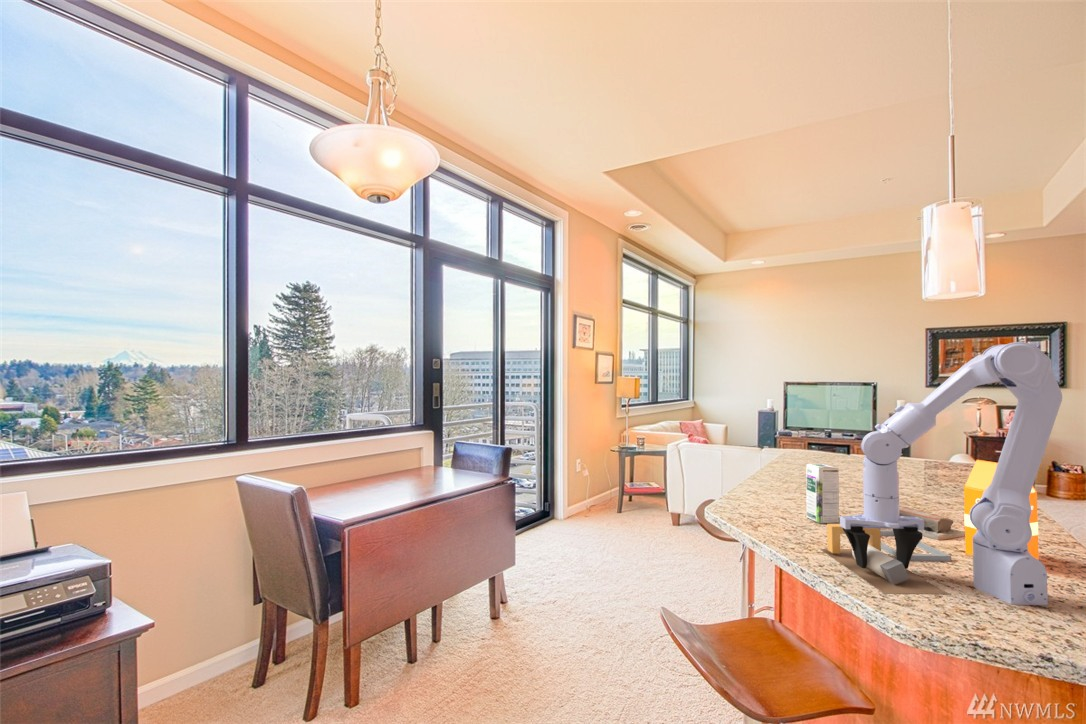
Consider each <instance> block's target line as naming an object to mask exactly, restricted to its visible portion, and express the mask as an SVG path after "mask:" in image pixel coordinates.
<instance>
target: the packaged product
mask: <svg viewBox="0 0 1086 724" xmlns="http://www.w3.org/2000/svg"><path fill="white" fill-rule="evenodd" d="M899 516H906V517H918V518H920V519H923V520H924V530H918V531H919V532H921V533H922V537H924V538H928V539H932V540H935V541H943V540H949V539H955V538H960V537H962V538H963V537H965V531H962V530H958V529H954V528H952V526H953V524H954V520H953V519H951V518H948V517H945V516H941V515H939V514H934V513H930V512H926V511H924V510H923V511H922V510H920V509H919V510H918V509H914V508H910V507H908V506H903V505H900V504H899Z"/></svg>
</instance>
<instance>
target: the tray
mask: <svg viewBox="0 0 1086 724" xmlns="http://www.w3.org/2000/svg"><path fill="white" fill-rule="evenodd" d="M883 536H884V537H887V536H888V537H895V536H894V532H893V529H890V530H889V529H888V530H887V529H886V530H885V529H881V537H883ZM916 548H919V549H921V550H924V551H926V552H928V553H929V554H928V553H927V554H926V553H924V554H923V553H922V554H921V553H913V554H912V556H911V559H910V562H952V555H950V554H949V553H946V552H944V551H942V550H940V549H938V548H935V547H933V546H931V545H929V544H927V543H925V542H923V541H922V540H920V542H919V543H918V544H917V546H916ZM881 551H884V552H886V553H888V554H889V555H891V556H893V557H895V558H896V548H893V547H891V546H889V544H888V545H887V544H886V543H884V542H882V541H881Z"/></svg>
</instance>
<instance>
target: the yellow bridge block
mask: <svg viewBox="0 0 1086 724" xmlns="http://www.w3.org/2000/svg"><path fill="white" fill-rule="evenodd" d="M826 526H827V527H826V530H827V531H826V532H827V533H826V536H827V537H826V538H827V540H826V542H827V545H826V546H827V547H826V548H827V549H828V551H830V552H831V553H840V549H841V535H846V534H845V532H844V531H843V528H842V527H841V526H840V523H826ZM863 530H865V533H867V534H868V535H870V538H869V542H868V544H869V545H871V546H872V547H874V548H876V549H878V550H879V551H881V552H882V549H881V542H882V541H881V540H882V536H881V530H882V528H863Z"/></svg>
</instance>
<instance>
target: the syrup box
mask: <svg viewBox="0 0 1086 724" xmlns="http://www.w3.org/2000/svg"><path fill="white" fill-rule="evenodd" d="M805 467H806V470H805V474H806V475H805V476H806V478H805V479H806V480H805V481H806V485H805V487H806V488H805V489H806V494H805V495H806V496H805V497H806V504H805V506H806V516H805V517H806V518H807V519H810V520H812V521H813V522H815V523H818V524H840V516H839V515H840V498H839V497H840V496H839V494H840V493H839V492H840V491H839V490H840V484H839V483H840V482H839V481H840V480H839V478H840V477H839V475H840V474H839V473H840V472H839V471H840V470H839V467H836V466H832V465H829V464H825V463H816V462H815V463H807V464H806V466H805Z"/></svg>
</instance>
